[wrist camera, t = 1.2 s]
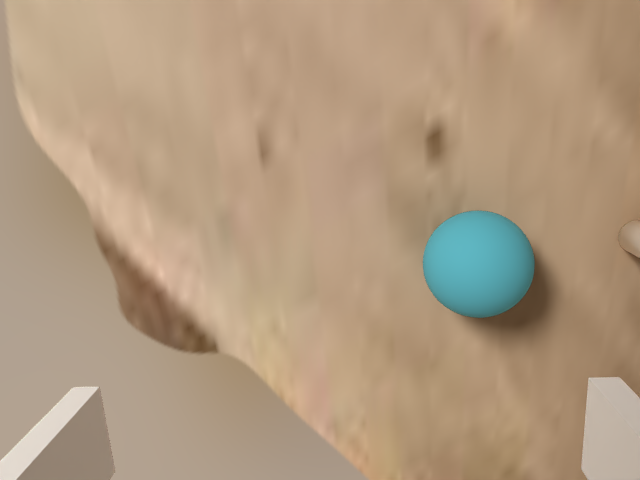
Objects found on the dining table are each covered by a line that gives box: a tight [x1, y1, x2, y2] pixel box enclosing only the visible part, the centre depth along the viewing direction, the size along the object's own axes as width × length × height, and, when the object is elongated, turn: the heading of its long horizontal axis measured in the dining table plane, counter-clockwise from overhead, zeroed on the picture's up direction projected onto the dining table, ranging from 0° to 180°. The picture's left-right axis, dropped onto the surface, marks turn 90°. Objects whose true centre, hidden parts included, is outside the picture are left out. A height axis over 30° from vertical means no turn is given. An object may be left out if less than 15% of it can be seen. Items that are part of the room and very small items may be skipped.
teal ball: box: [423, 211, 535, 318], centre depth 29 cm, size 6×6×6 cm
